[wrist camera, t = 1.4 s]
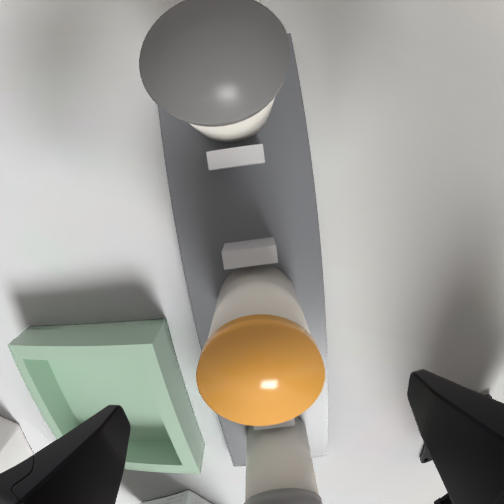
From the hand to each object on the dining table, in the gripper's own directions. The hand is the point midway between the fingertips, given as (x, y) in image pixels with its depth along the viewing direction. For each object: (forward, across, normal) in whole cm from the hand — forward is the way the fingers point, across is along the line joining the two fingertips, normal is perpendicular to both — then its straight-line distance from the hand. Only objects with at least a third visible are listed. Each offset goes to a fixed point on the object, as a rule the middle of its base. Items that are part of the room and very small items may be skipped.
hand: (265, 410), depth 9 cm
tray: (+10, +11, +6) cm, 16 cm away
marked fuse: (+8, 0, 0) cm, 8 cm away
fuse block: (+10, 0, 0) cm, 10 cm away
